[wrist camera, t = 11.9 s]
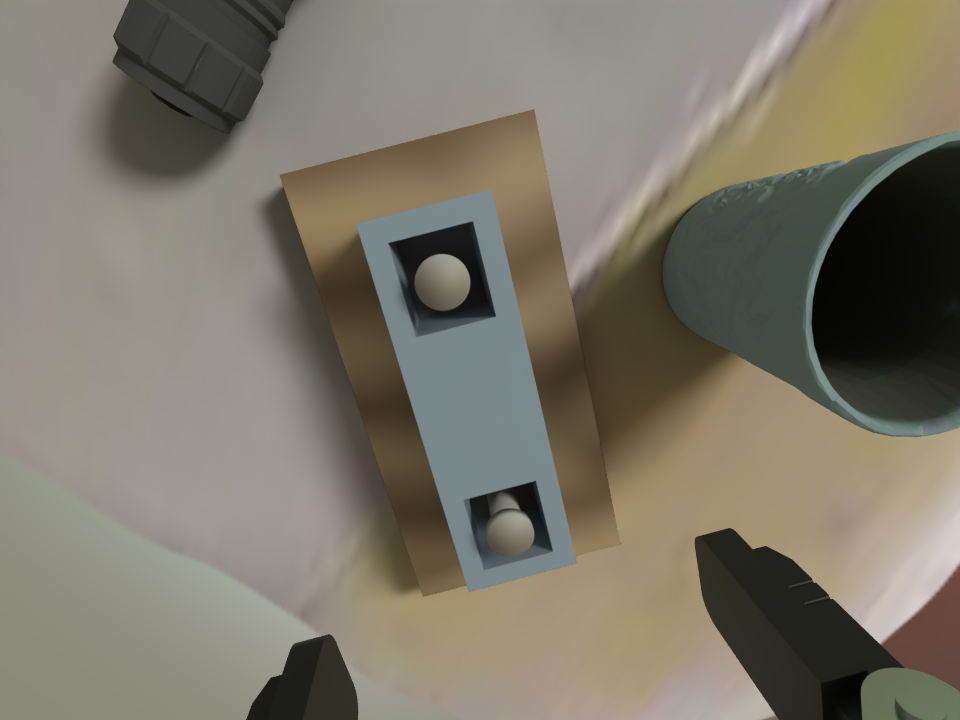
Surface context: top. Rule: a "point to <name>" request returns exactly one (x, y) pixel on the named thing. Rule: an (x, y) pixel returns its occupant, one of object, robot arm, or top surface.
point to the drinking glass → (837, 282)
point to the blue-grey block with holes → (472, 391)
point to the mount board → (447, 287)
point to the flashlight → (200, 53)
